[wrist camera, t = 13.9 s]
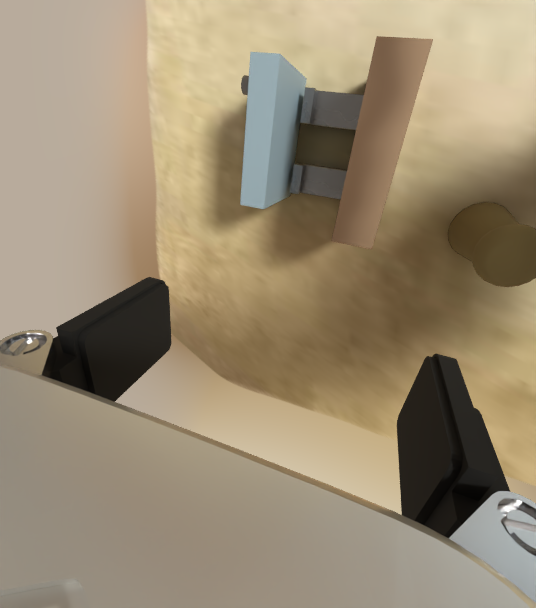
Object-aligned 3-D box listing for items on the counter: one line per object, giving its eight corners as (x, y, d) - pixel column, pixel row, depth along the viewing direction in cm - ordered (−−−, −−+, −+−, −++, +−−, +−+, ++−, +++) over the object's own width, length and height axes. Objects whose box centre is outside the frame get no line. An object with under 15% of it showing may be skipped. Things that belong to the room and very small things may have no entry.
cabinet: (415, 76, 30) (432, 39, 19) (374, 221, 36) (371, 249, 26) (378, 73, 30) (376, 36, 20) (345, 215, 37) (331, 240, 27)
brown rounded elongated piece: (525, 235, 32) (583, 270, 23) (466, 267, 35) (497, 310, 26) (493, 189, 31) (541, 206, 22) (436, 226, 35) (457, 255, 25)
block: (306, 78, 32) (280, 53, 24) (289, 196, 38) (263, 209, 30) (273, 76, 33) (236, 50, 25) (262, 191, 39) (229, 202, 31)
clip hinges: (372, 98, 31) (372, 93, 29) (349, 198, 36) (346, 202, 34) (267, 87, 34) (257, 82, 31) (258, 183, 39) (249, 185, 36)
